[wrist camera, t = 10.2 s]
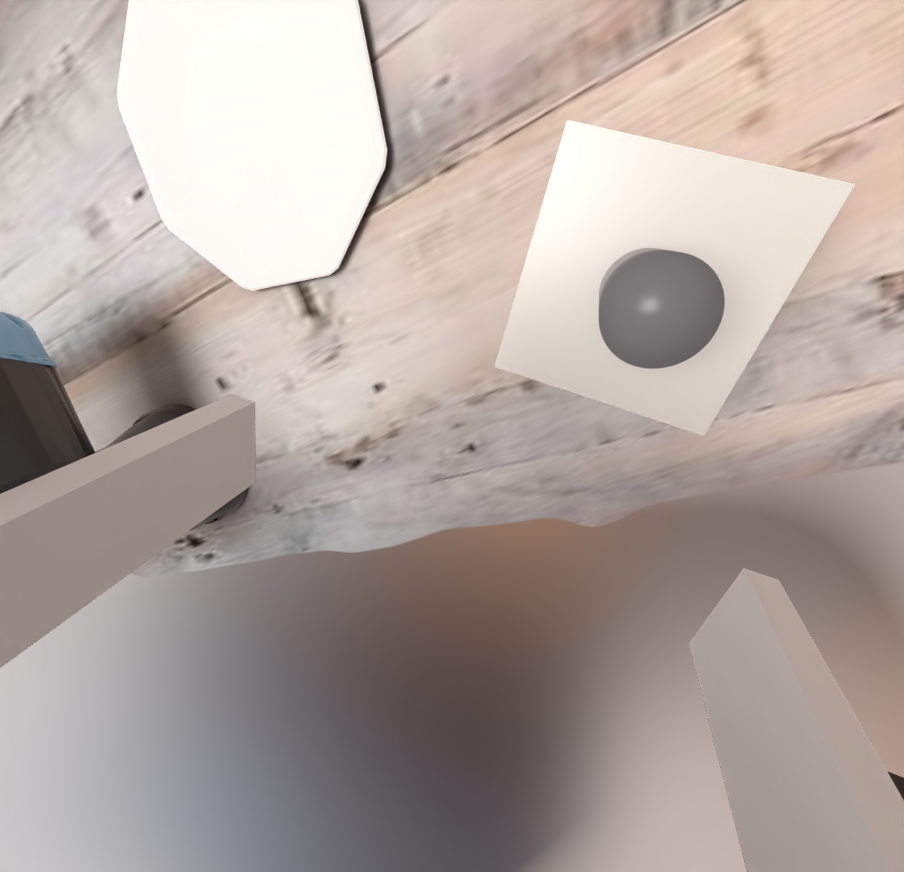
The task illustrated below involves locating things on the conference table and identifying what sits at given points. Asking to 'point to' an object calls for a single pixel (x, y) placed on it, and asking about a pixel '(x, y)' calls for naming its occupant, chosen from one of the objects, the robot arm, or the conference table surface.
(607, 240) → the lid
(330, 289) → the conference table surface
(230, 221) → the plate
